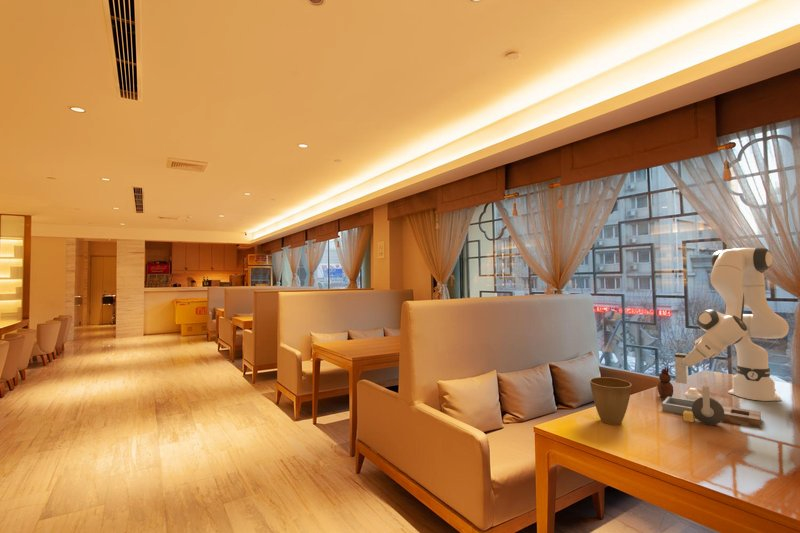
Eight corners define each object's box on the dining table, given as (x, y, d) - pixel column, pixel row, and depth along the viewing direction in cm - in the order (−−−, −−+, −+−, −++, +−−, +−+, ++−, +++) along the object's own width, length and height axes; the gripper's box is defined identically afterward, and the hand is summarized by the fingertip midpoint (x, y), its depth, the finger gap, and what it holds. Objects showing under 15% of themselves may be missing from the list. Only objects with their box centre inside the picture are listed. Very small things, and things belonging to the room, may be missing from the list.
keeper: (722, 412, 170) (722, 405, 170) (760, 419, 162) (760, 411, 162) (719, 420, 162) (719, 413, 162) (759, 427, 153) (759, 419, 153)
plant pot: (582, 418, 166) (581, 379, 166) (608, 413, 172) (607, 375, 172) (614, 431, 152) (613, 388, 153) (641, 425, 158) (640, 383, 158)
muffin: (699, 406, 179) (699, 390, 180) (683, 403, 184) (682, 387, 184) (703, 403, 183) (702, 387, 184) (687, 400, 188) (686, 385, 188)
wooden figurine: (675, 399, 189) (674, 367, 189) (662, 399, 190) (660, 367, 190) (669, 395, 195) (668, 364, 196) (655, 395, 196) (654, 364, 197)
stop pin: (677, 380, 178) (676, 352, 178) (688, 382, 175) (687, 353, 175) (675, 382, 175) (674, 354, 175) (686, 384, 172) (686, 355, 172)
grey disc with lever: (685, 417, 165) (683, 380, 166) (725, 425, 156) (723, 386, 157) (682, 422, 160) (681, 384, 161) (723, 430, 152) (722, 389, 152)
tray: (668, 403, 184) (667, 396, 184) (703, 409, 175) (703, 402, 175) (662, 410, 174) (662, 403, 174) (699, 417, 166) (699, 409, 166)
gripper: (703, 338, 178) (677, 357, 185) (697, 344, 163) (669, 365, 170) (716, 349, 175) (689, 369, 182) (711, 356, 160) (682, 377, 167)
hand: (679, 367), depth 176 cm, fingers closed on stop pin, 4 cm apart
